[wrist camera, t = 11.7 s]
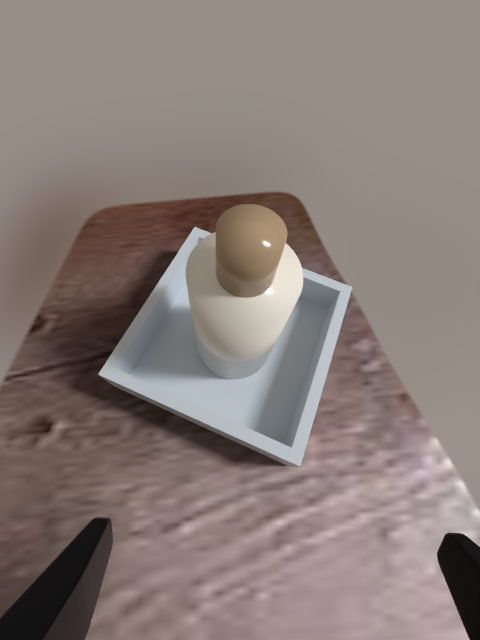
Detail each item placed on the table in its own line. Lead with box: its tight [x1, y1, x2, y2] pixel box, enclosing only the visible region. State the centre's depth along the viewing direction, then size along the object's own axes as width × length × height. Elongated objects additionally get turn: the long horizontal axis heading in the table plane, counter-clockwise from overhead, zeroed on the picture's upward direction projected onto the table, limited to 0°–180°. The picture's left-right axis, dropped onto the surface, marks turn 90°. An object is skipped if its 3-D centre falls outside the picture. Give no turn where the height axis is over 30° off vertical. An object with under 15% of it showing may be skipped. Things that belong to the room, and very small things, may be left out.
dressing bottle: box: [185, 204, 303, 379], centre depth 18 cm, size 6×6×13 cm
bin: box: [98, 227, 352, 467], centre depth 23 cm, size 14×14×4 cm
